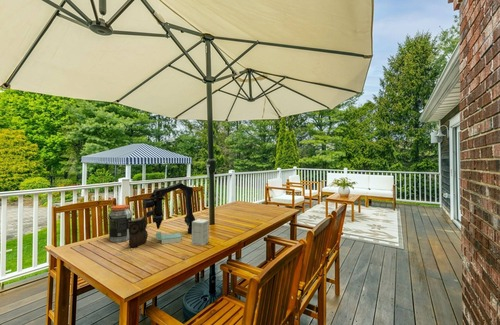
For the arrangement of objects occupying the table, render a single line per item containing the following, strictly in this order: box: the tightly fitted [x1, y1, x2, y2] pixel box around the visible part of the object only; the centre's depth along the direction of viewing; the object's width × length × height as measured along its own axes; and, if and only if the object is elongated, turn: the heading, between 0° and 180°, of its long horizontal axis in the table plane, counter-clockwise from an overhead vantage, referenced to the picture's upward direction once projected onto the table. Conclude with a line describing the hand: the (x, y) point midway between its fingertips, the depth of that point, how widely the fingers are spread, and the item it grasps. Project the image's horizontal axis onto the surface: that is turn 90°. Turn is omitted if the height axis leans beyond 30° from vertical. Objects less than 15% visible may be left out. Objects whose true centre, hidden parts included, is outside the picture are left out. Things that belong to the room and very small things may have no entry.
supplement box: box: [191, 218, 210, 246], centre depth 174 cm, size 10×9×17 cm
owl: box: [128, 216, 149, 249], centre depth 170 cm, size 13×13×20 cm
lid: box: [155, 231, 182, 241], centre depth 177 cm, size 18×9×5 cm, turn 110°
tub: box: [161, 237, 182, 245], centre depth 178 cm, size 14×9×4 cm, turn 110°
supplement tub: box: [108, 204, 133, 243], centre depth 184 cm, size 16×16×26 cm
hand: (158, 227), depth 175 cm, fingers open, 9 cm apart
